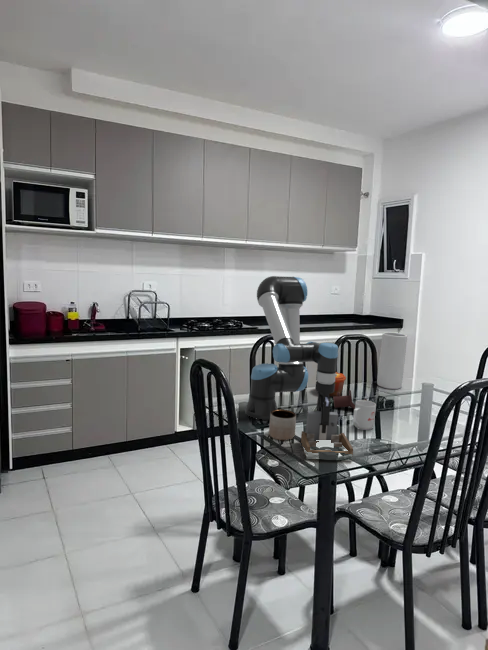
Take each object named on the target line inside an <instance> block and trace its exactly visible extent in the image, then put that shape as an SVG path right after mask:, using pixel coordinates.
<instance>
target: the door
mask: <svg viewBox="0 0 488 650" xmlns="http://www.w3.org/2000/svg"><path fill="white" fill-rule="evenodd" d="M306 411H307V414H306V421H305V422H306V425H305V433H308V434H314V441H316V440H319V432H320V425H319V423H321V412H320V411H316V410H315V411H313V410H306ZM338 421H339V414H338V412H337V411H330V414H329V426H328V425H327V434H326V440H331V435H338V434H337V433H338V432H337V431H338Z"/></svg>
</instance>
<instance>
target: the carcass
mask: <svg viewBox="0 0 488 650" xmlns="http://www.w3.org/2000/svg"><path fill="white" fill-rule="evenodd" d="M300 434H301V437H300V444H301V443H302V445H301V447H302V446H303V447H304V448H305V450H306V451H307V452H312V453H318V452H335V453H345V454H352V455H354V448H353V446H352V444H351V443H350V441H349V439H348V438H347V436H346V434H345V433H344V432H341V433H339V434H336V435H331V443H334V446H335V447H342V445H343V446H344V447H345V448H346V449H347V450H348V451H331V450H310V447H316V443H317V442H319V441H314V434H308V433H306V431H304V430H302V431H301V433H300Z"/></svg>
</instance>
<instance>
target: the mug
mask: <svg viewBox="0 0 488 650" xmlns="http://www.w3.org/2000/svg"><path fill="white" fill-rule="evenodd" d="M354 405H355V409H353V418H352V420H353V426H355V428H357V429H359V430H361V431H370V430H372V429H373V428H374V426H375V419H376V418H375V416H376V408H377V404H376V403H375V402H373V401H370V400H368V399H367V400H365V399H360V400H359V399H357V400H355V403H354Z"/></svg>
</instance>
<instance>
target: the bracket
mask: <svg viewBox="0 0 488 650" xmlns="http://www.w3.org/2000/svg"><path fill="white" fill-rule="evenodd" d="M332 398H333V406H334V409H337V408H348V407H350V408H351V409H353V410H354V409H355V403H354V402H353V397H352V390H351V389H349V390H348V395H340V393H339V392H337V396H336V397H332ZM364 400H367V401H368V399H367V398H364Z"/></svg>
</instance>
